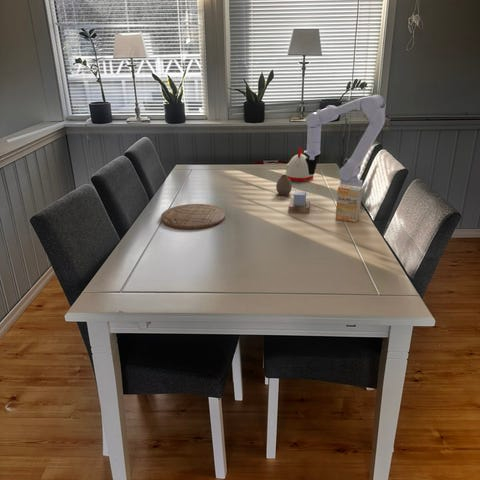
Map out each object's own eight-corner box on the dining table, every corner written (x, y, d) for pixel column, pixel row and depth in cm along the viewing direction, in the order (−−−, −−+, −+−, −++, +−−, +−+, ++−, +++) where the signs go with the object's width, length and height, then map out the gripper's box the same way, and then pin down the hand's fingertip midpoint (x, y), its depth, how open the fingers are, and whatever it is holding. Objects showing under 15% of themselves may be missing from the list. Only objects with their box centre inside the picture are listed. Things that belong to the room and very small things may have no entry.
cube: (305, 202, 184) (306, 191, 182) (304, 205, 180) (304, 195, 178) (294, 201, 185) (295, 191, 183) (293, 205, 181) (293, 194, 179)
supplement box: (334, 219, 172) (337, 187, 167) (338, 215, 176) (340, 183, 171) (356, 223, 169) (359, 189, 164) (359, 219, 173) (362, 186, 167)
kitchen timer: (282, 180, 223) (283, 150, 217) (288, 172, 235) (289, 144, 229) (310, 182, 220) (312, 151, 213) (314, 174, 232) (316, 145, 226)
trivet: (216, 232, 163) (216, 228, 163) (151, 228, 168) (151, 224, 167) (231, 209, 186) (231, 205, 185) (173, 206, 190) (173, 202, 190)
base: (309, 208, 186) (310, 201, 185) (308, 214, 179) (308, 207, 178) (290, 207, 188) (290, 200, 187) (288, 213, 181) (288, 206, 180)
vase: (291, 191, 205) (292, 173, 202) (291, 196, 199) (292, 177, 195) (276, 191, 206) (276, 173, 202) (275, 196, 200) (276, 177, 196)
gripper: (305, 137, 200) (304, 167, 206) (302, 144, 187) (301, 176, 193) (321, 138, 199) (320, 168, 204) (319, 144, 186) (318, 176, 191)
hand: (312, 172), depth 199 cm, fingers open, 7 cm apart
